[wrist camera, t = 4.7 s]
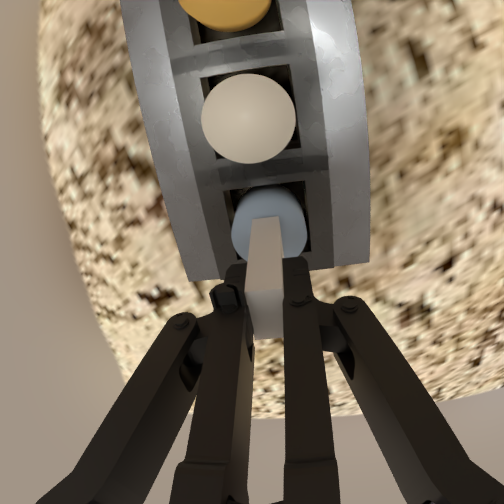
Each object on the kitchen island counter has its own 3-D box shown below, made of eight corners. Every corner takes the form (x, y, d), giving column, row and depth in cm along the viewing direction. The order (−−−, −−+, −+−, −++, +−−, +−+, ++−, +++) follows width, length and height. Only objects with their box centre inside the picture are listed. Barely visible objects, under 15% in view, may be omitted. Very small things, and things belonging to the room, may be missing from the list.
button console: (137, -16, 16) (105, -34, 12) (324, -49, 15) (339, -77, 10) (198, 254, 29) (184, 294, 24) (357, 236, 27) (374, 274, 22)
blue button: (235, 171, 24) (224, 206, 18) (294, 164, 23) (303, 196, 17) (245, 224, 26) (238, 271, 20) (300, 217, 25) (309, 263, 20)
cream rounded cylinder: (215, 80, 19) (193, 83, 13) (282, 70, 18) (288, 67, 13) (227, 142, 21) (211, 169, 15) (291, 133, 21) (300, 157, 15)
